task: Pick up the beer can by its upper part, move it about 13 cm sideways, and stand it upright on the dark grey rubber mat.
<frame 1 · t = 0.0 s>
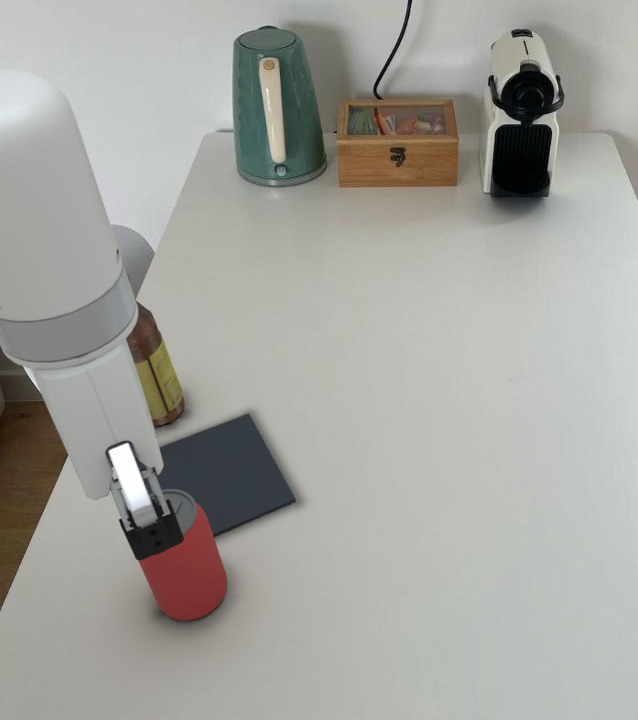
hand: (141, 496, 56), 22 cm above the table, tool pointing down, fingers open, 9 cm apart
sauce bottle: (158, 412, 94), on the table
beer can: (193, 593, 76), on the table
mat: (209, 481, 86), on the table
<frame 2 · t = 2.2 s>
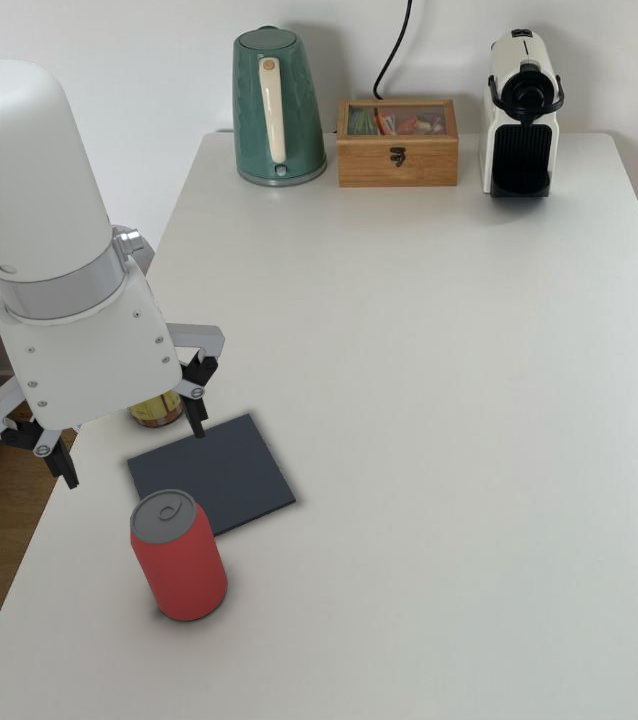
hand: (135, 450, 62), 21 cm above the table, tool pointing down, fingers open, 9 cm apart
nothing on the table moved.
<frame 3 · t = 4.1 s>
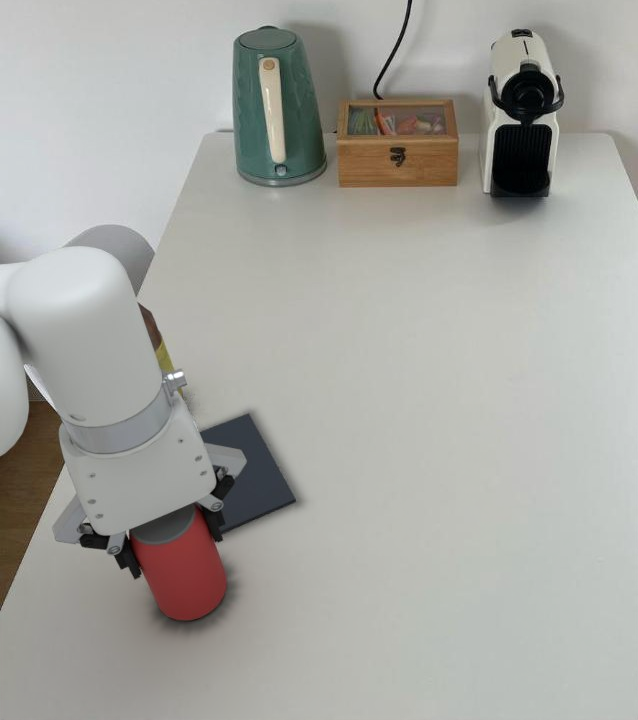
hand: (174, 546, 71), 7 cm above the table, tool pointing down, fingers closed on beer can, 6 cm apart
beer can: (193, 592, 76), on the table, touching gripper
everything else where it was.
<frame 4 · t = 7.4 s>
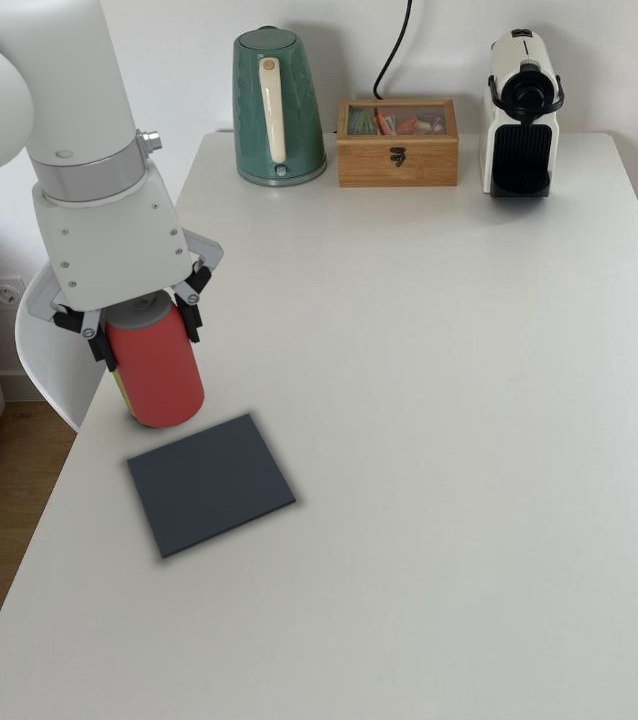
hand: (151, 346, 71), 21 cm above the table, tool pointing down, fingers closed on beer can, 6 cm apart
beer can: (171, 407, 76), point 13 cm above the table, touching gripper
everything else where it was.
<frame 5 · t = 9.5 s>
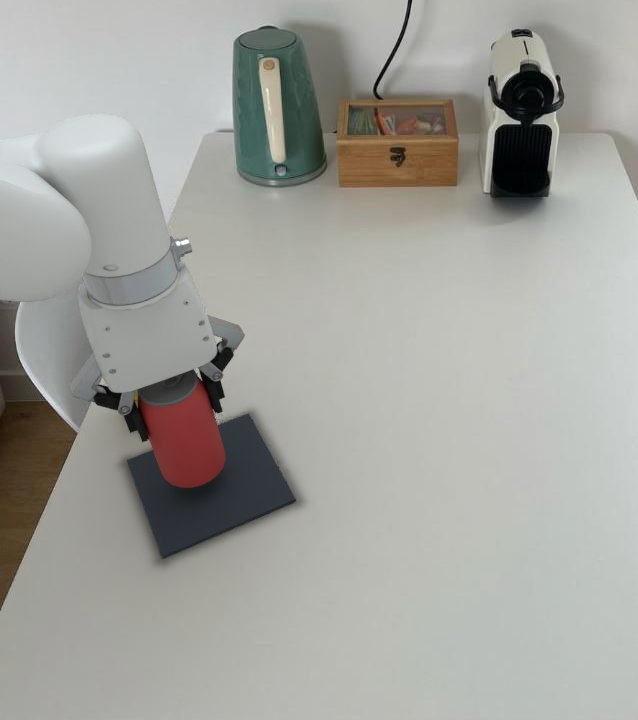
hand: (178, 416, 78), 10 cm above the table, tool pointing down, fingers closed on beer can, 6 cm apart
beer can: (195, 467, 83), point 3 cm above the table, touching gripper
everything else where it was.
when the fingers open (8 cm above the table, at t = 10.8 s): beer can stays where it is, resting on mat.
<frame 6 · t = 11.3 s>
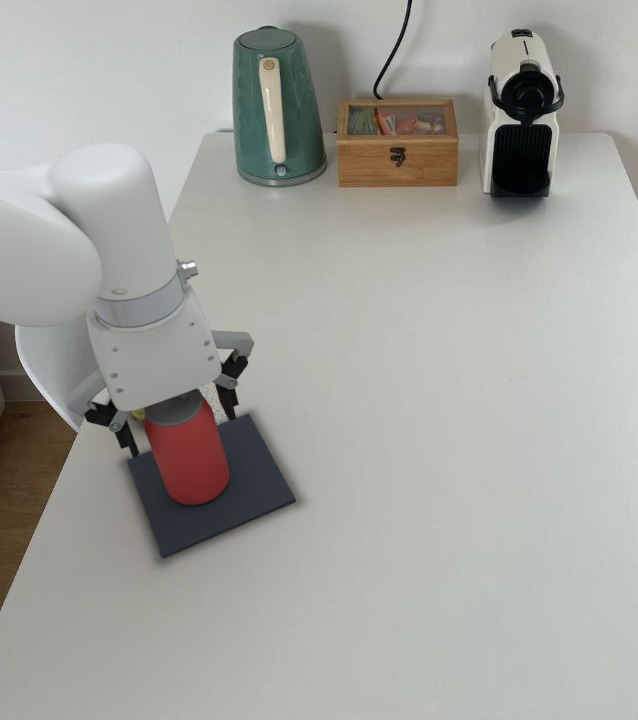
hand: (181, 429, 79), 9 cm above the table, tool pointing down, fingers open, 9 cm apart
beer can: (199, 484, 85), resting on mat
everything else where it was.
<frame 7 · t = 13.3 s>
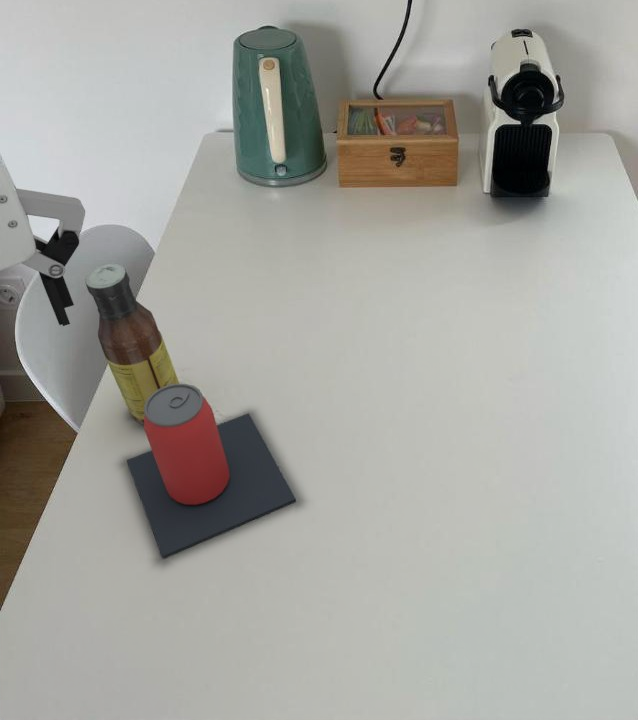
nothing on the table moved.
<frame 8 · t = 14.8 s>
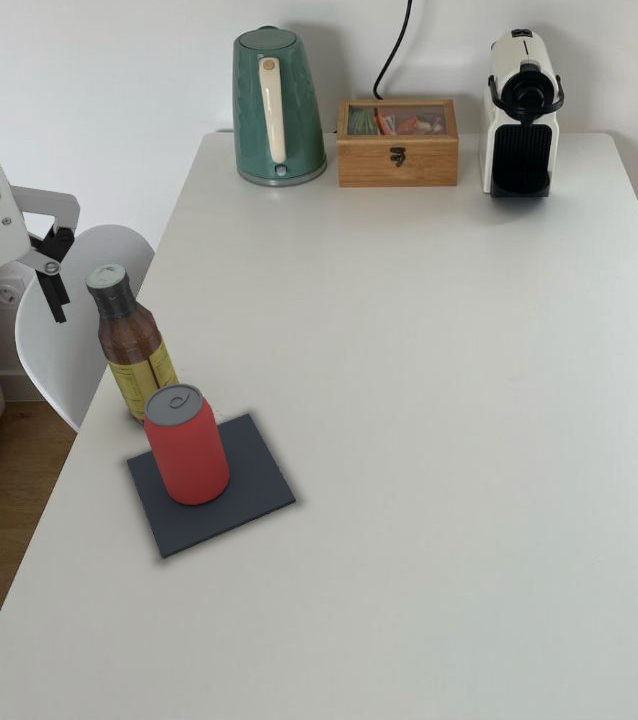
nothing on the table moved.
at the end: beer can inside the target area on the mat (1.1 cm from its centre), point 0.2 cm above the mat's base; beer can tilted 0°; beer can moved 12.8 cm from its start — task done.
